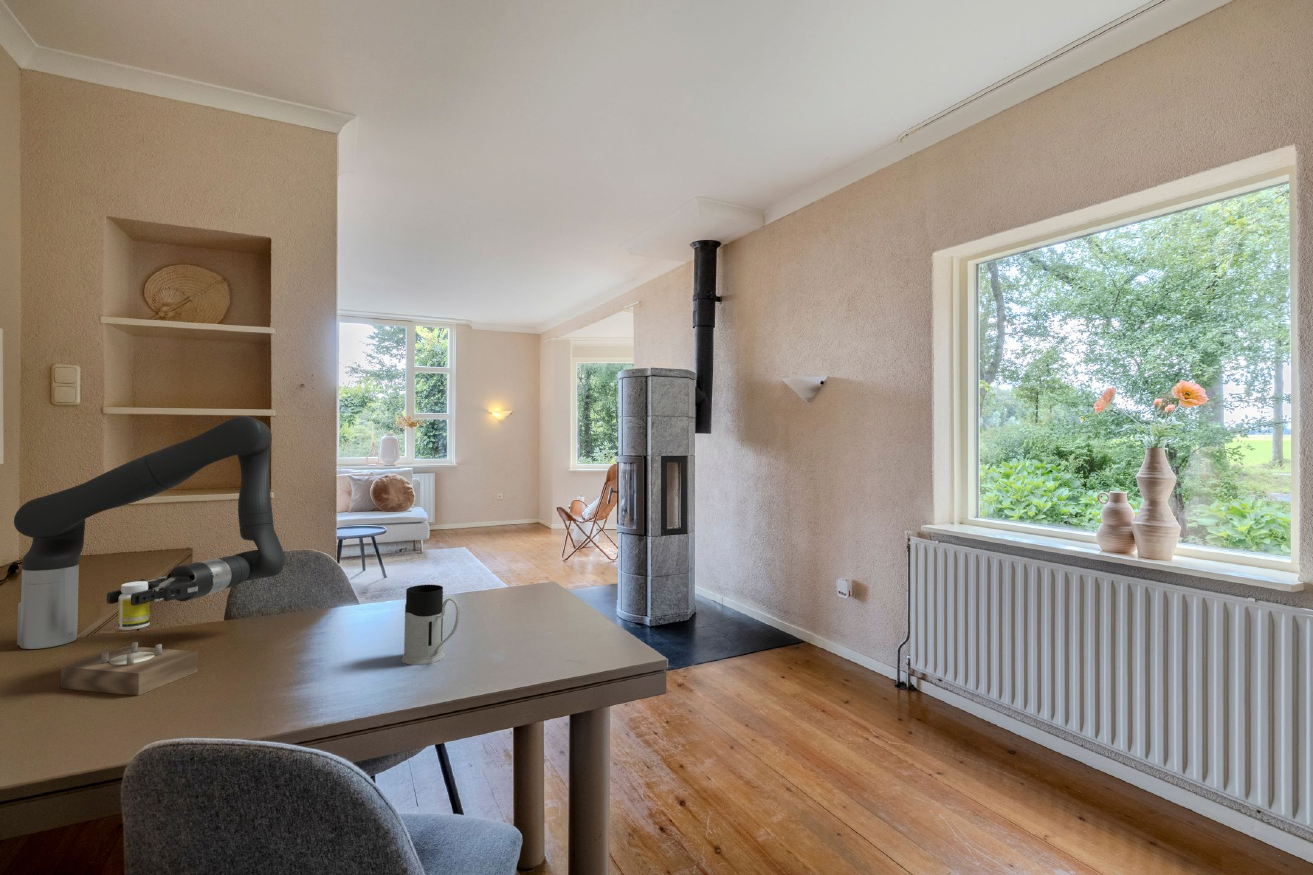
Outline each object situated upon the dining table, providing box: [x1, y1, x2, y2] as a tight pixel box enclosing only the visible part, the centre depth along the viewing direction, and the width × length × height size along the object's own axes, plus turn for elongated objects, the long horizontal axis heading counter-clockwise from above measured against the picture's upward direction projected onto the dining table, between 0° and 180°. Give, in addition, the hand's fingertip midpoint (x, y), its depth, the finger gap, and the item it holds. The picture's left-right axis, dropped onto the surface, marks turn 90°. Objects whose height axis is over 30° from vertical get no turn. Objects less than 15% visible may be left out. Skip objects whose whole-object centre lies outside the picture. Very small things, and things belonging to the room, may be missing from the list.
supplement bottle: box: [117, 580, 151, 631], centre depth 120 cm, size 5×5×8 cm
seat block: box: [60, 641, 199, 697], centre depth 120 cm, size 17×12×6 cm
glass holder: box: [401, 584, 461, 666], centre depth 134 cm, size 9×14×15 cm, turn 64°
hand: (120, 599), depth 118 cm, fingers closed on supplement bottle, 4 cm apart
